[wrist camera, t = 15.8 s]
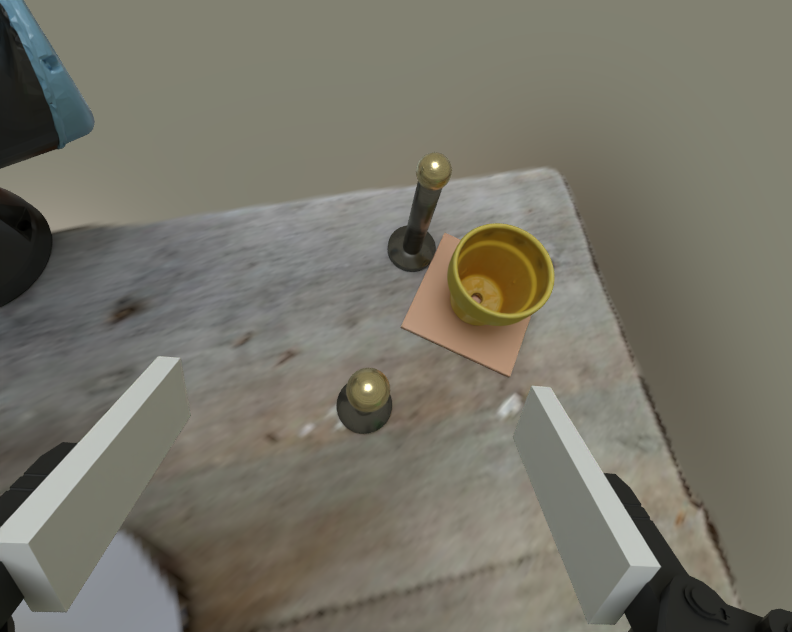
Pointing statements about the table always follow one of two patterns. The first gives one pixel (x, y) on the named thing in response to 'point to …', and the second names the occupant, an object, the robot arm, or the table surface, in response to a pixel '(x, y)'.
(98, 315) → the table surface
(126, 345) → the table surface
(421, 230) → the iron post
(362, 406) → the iron post
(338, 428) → the table surface
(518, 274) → the plant pot
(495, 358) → the terracotta tile
